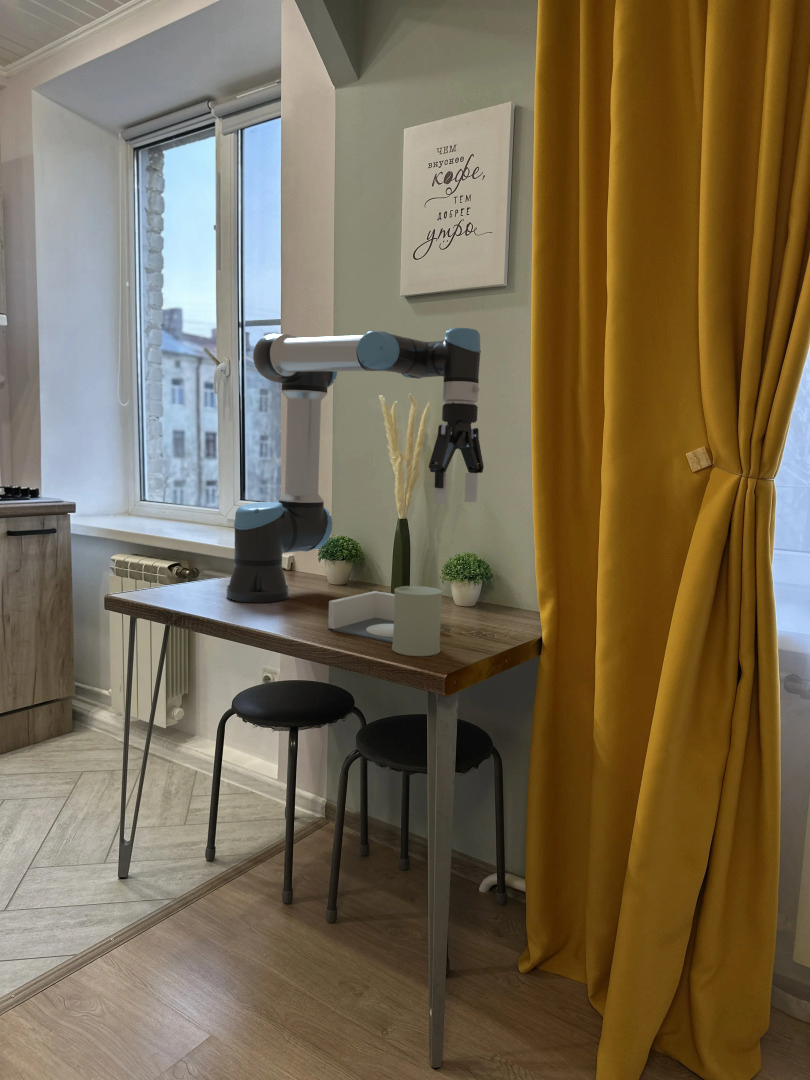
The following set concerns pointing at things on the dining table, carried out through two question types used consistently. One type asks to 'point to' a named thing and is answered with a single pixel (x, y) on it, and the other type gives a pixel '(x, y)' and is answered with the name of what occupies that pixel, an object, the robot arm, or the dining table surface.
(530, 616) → the dining table surface
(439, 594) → the can
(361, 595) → the walls
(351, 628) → the mat
